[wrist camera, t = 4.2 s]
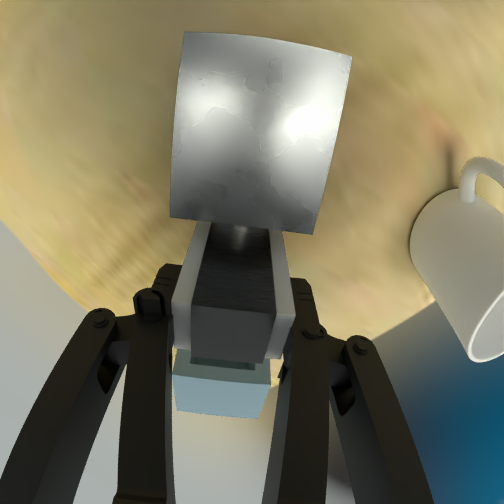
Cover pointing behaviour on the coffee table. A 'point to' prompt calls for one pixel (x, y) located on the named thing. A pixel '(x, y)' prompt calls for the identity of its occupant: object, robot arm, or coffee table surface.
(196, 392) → the socket
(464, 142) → the coffee table surface
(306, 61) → the grey metal block
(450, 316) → the cup
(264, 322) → the grey piece
